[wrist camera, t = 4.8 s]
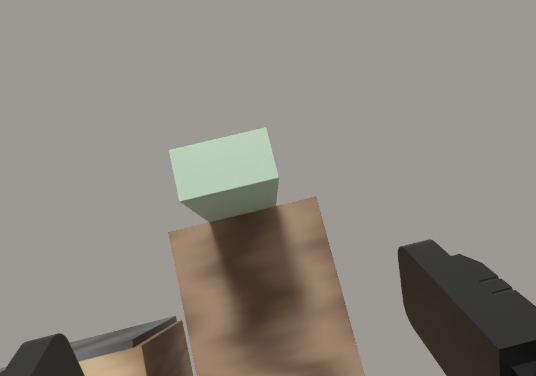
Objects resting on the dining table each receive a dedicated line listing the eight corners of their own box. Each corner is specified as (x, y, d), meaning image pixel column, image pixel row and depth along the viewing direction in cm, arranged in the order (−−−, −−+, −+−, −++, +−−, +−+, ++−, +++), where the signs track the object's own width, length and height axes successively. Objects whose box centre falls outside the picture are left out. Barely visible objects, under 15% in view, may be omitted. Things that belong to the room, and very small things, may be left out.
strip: (179, 201, 18) (168, 150, 18) (230, 237, 42) (225, 214, 42) (278, 177, 18) (266, 127, 19) (273, 227, 42) (268, 204, 42)
